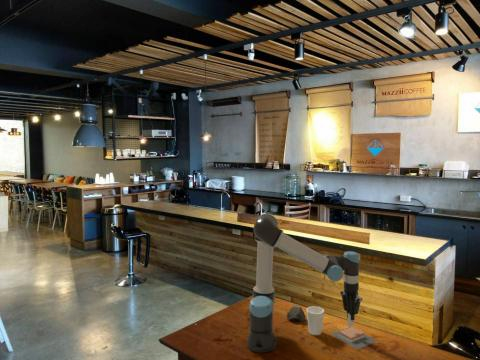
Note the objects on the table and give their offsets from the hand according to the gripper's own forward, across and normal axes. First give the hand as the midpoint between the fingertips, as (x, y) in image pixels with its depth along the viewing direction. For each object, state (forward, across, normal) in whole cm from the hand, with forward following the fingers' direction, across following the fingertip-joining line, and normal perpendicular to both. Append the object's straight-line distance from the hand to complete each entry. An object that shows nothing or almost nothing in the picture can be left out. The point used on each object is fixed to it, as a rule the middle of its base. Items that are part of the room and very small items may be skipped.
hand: (350, 325), depth 196 cm
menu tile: (+5, +3, 0) cm, 6 cm away
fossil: (+7, +32, +11) cm, 35 cm away
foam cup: (+7, +13, +13) cm, 19 cm away
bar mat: (+6, -2, 0) cm, 7 cm away
